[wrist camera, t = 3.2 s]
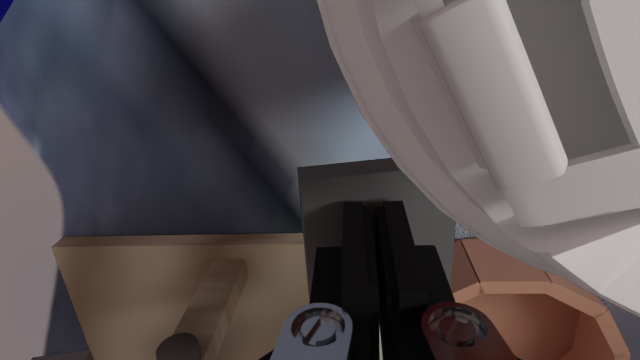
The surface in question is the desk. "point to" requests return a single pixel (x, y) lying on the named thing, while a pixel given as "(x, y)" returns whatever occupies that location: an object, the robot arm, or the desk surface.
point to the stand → (183, 293)
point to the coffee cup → (511, 122)
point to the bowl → (534, 307)
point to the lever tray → (371, 189)
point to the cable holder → (4, 7)
